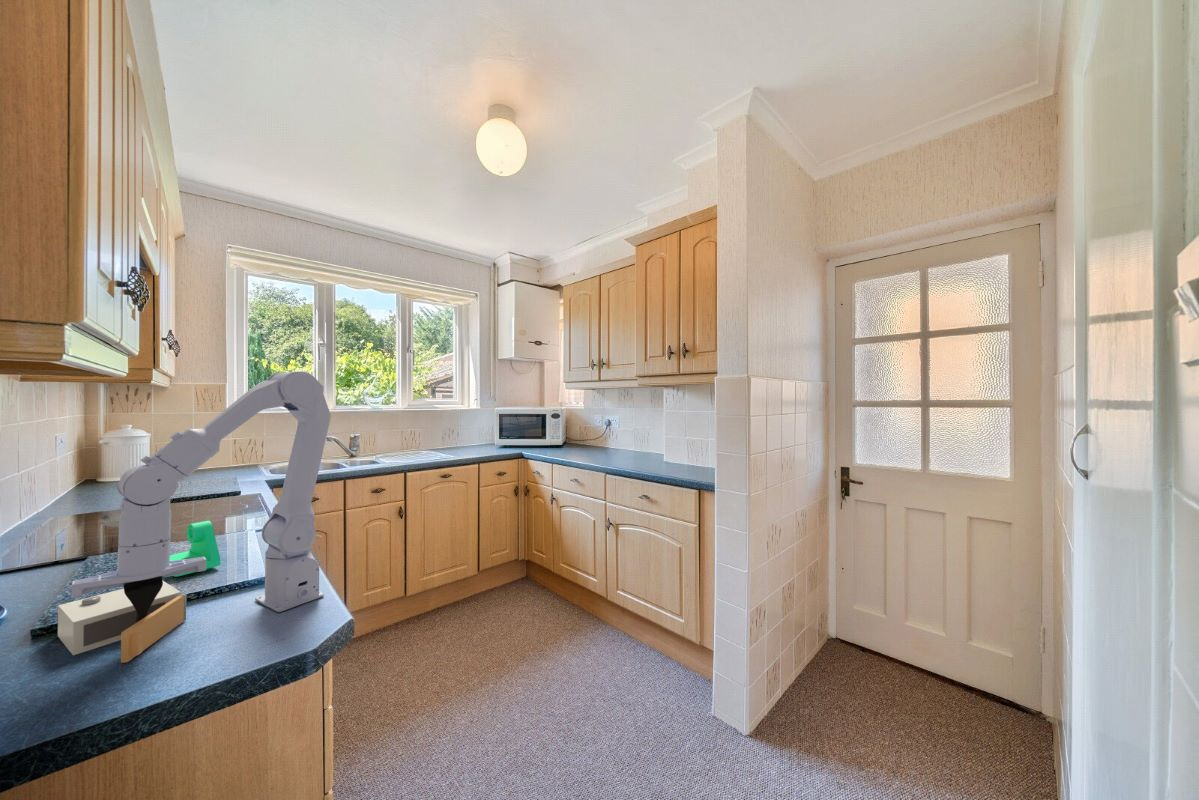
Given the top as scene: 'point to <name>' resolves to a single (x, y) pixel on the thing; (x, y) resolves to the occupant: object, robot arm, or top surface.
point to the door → (152, 628)
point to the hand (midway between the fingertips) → (141, 627)
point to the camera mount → (200, 545)
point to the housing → (102, 618)
